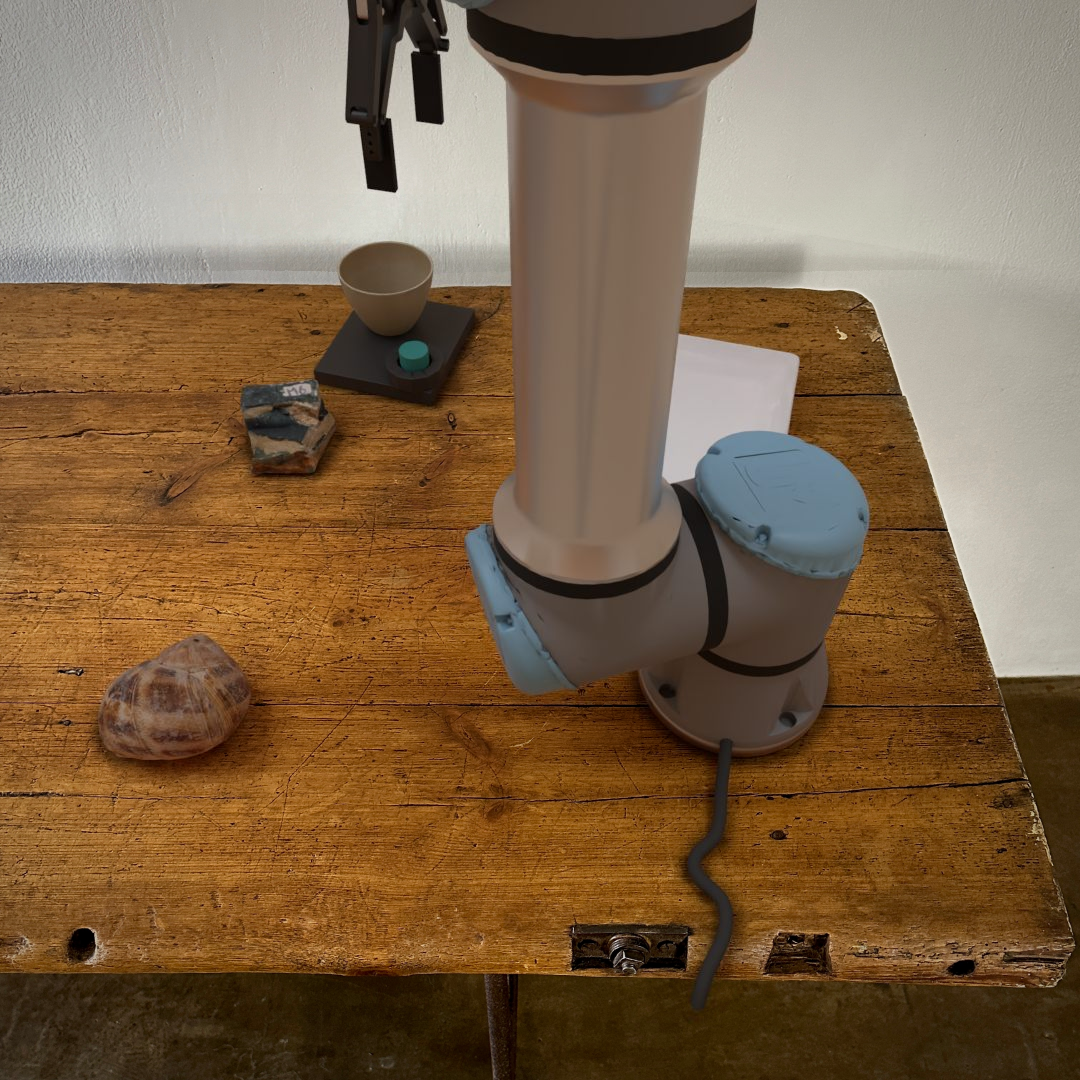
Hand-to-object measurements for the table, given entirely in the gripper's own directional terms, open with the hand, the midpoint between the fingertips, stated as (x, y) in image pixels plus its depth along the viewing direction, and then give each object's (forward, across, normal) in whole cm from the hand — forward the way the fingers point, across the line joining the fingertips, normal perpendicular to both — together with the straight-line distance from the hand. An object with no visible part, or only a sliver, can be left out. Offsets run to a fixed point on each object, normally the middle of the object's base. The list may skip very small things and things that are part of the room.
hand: (407, 154), depth 93 cm
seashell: (+22, -51, +3) cm, 56 cm away
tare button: (+18, -8, -2) cm, 20 cm away
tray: (+22, -12, -32) cm, 40 cm away
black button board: (+21, -3, +2) cm, 22 cm away
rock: (+22, -20, +7) cm, 30 cm away
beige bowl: (+20, -1, +3) cm, 20 cm away
